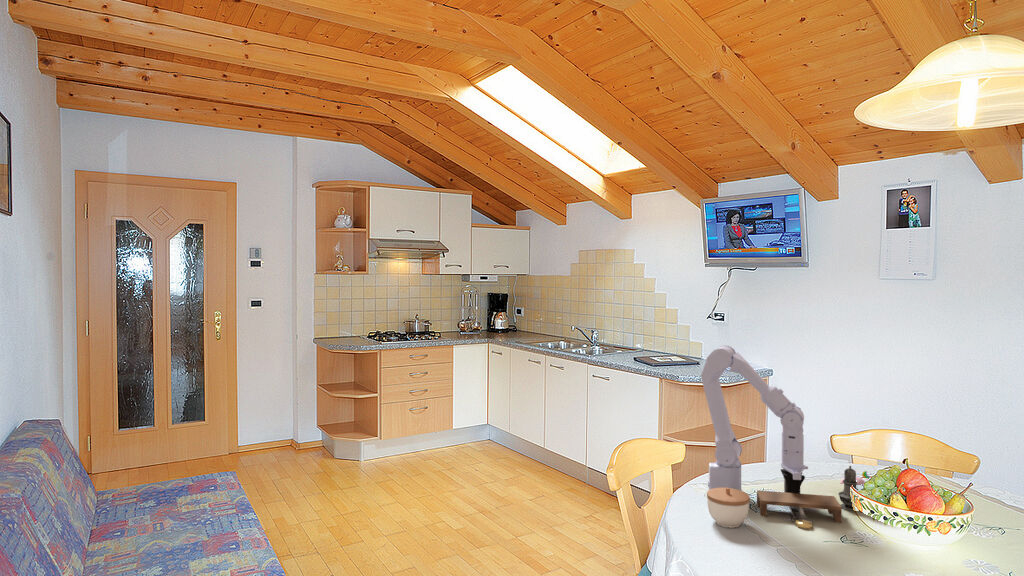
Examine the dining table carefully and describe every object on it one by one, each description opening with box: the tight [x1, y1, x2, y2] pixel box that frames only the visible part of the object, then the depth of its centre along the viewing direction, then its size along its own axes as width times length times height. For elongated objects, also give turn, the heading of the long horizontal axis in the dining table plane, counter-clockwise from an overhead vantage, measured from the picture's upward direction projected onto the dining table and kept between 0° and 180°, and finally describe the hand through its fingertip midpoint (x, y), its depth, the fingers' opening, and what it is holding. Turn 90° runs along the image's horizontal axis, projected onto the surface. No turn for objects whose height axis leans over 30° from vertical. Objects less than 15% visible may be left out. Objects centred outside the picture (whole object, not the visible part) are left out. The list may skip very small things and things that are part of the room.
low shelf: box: [756, 489, 843, 524], centre depth 170 cm, size 20×8×4 cm, turn 75°
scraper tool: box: [783, 477, 813, 523], centre depth 171 cm, size 5×15×7 cm, turn 165°
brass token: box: [795, 520, 813, 531], centre depth 162 cm, size 4×4×1 cm
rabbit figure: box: [839, 470, 871, 486], centre depth 188 cm, size 6×6×15 cm
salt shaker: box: [837, 465, 857, 512], centre depth 173 cm, size 6×6×12 cm
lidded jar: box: [706, 487, 751, 529], centre depth 164 cm, size 11×11×9 cm
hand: (792, 496), depth 177 cm, fingers closed on scraper tool
